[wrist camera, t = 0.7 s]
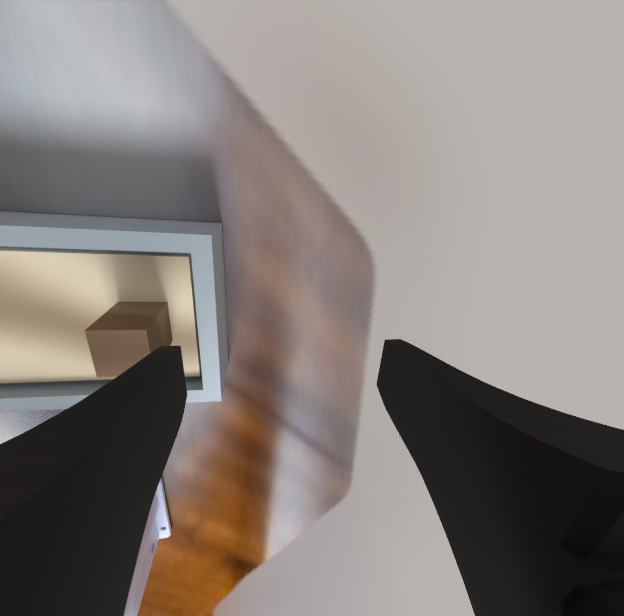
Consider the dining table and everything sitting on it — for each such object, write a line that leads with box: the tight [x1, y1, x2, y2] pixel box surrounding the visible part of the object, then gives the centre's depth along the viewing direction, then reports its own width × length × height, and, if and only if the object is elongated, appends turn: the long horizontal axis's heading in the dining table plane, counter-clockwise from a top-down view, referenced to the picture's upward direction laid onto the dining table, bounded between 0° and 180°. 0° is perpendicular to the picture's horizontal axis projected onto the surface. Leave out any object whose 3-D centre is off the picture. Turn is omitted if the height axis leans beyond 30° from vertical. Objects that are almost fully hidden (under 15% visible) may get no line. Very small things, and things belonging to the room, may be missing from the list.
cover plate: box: [0, 248, 202, 383], centre depth 14 cm, size 7×16×4 cm, turn 86°
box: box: [0, 211, 229, 412], centre depth 16 cm, size 10×18×4 cm, turn 86°
